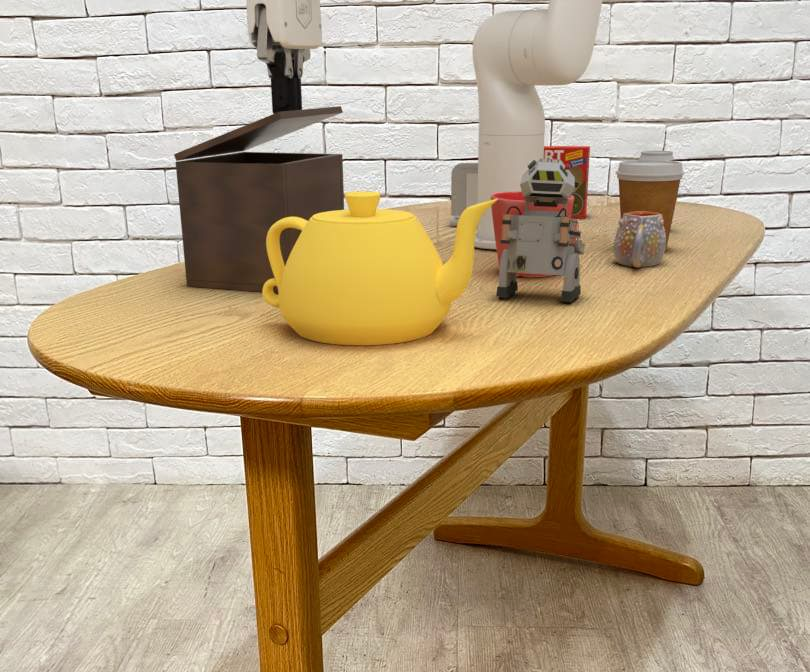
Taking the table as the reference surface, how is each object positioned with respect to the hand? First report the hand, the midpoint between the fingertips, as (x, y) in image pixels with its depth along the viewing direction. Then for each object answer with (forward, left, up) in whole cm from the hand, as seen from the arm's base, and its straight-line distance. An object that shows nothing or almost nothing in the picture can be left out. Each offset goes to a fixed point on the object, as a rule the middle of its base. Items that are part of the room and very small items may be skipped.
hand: (287, 113), depth 131 cm
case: (+4, 0, -20) cm, 20 cm away
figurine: (-32, -2, -20) cm, 38 cm away
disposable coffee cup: (-36, -39, -20) cm, 57 cm away
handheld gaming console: (-6, -58, -20) cm, 62 cm away
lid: (+4, 0, -3) cm, 5 cm away
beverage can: (-33, -58, -20) cm, 70 cm away
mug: (-38, -25, -20) cm, 50 cm away
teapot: (-21, +21, -20) cm, 36 cm away
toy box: (-10, -69, -20) cm, 73 cm away
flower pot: (-26, -16, -20) cm, 37 cm away
